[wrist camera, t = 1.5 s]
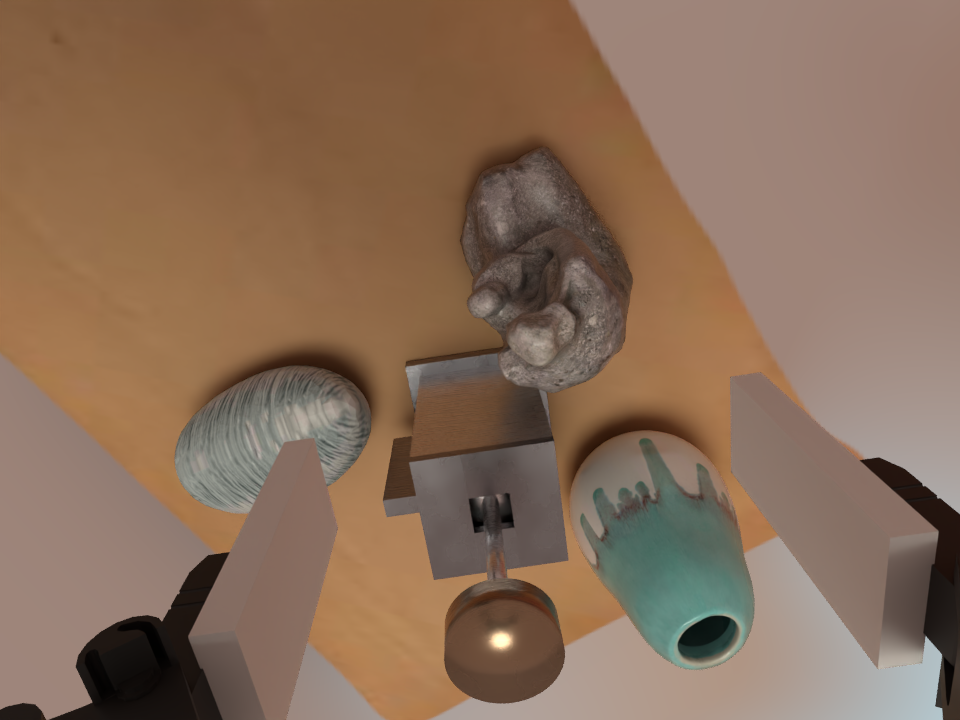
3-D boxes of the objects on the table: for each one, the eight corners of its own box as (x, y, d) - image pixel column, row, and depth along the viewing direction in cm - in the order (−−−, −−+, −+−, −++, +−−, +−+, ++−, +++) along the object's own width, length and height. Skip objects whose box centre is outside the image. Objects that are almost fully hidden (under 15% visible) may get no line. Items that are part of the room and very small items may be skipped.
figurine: (472, 135, 45) (483, 157, 28) (644, 158, 46) (755, 193, 29) (450, 324, 49) (448, 440, 32) (606, 341, 50) (683, 463, 33)
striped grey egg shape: (223, 533, 51) (179, 548, 41) (182, 417, 52) (131, 403, 42) (392, 466, 53) (389, 464, 44) (350, 355, 54) (338, 329, 45)
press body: (386, 364, 50) (363, 454, 38) (539, 341, 50) (568, 424, 37) (410, 479, 54) (397, 597, 41) (553, 458, 54) (584, 570, 41)
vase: (724, 500, 56) (839, 673, 39) (596, 557, 57) (654, 746, 41) (672, 387, 52) (776, 524, 35) (536, 451, 53) (574, 612, 37)
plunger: (436, 461, 40) (429, 616, 28) (530, 447, 40) (562, 597, 28) (451, 538, 42) (451, 714, 30) (540, 526, 42) (575, 697, 30)
